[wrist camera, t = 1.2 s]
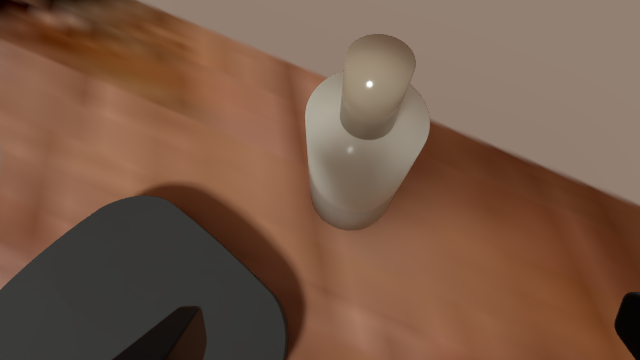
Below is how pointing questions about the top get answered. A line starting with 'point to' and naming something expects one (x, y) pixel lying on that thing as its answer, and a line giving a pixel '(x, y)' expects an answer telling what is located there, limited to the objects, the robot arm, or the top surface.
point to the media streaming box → (136, 289)
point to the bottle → (364, 132)
